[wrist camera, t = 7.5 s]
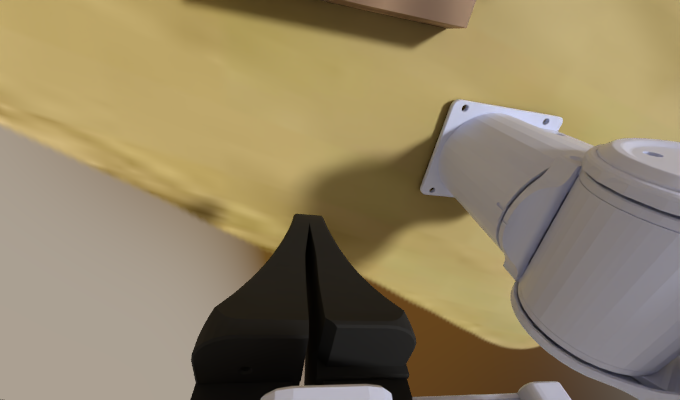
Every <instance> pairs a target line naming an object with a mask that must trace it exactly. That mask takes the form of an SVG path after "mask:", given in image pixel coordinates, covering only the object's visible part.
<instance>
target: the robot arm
mask: <svg viewBox="0 0 680 400" xmlns="http://www.w3.org/2000/svg"><path fill="white" fill-rule="evenodd" d="M464 105H466V108H465V109H464V110H462V107H463V106H464ZM545 119H546V120H545ZM544 120H545V122H544V123H543V121H544ZM562 122H563V119H562V118H561V117H558V116H554V115H548V114H542V113H537V112H531V111H525V110H519V109H514V108H508V107H502V106H496V105H490V104H485V103H479V102H473V101H467V100H462V99H456V100H454V101H453V102H452V104H451V106H450V108H449V111H448V114H447V117H446V119H445V122H444V125H443V127H442V130H441V133H440V135H439V138H438V141H437V144H436V146H435V149H434V152H433V154H432V157H431V160H430V162H429V165H428V168H427V171H426V173H425V176H424V179H423V181H422V184H421V187H420V191H421V192H422V193H423V194H426V195H436V196H445V197H455V198H456V199H457V201H458V202H459V203H460V204H461V205H462V206H463V207H464V208H465V210H466V211H467V212H468V213H469V214H470V215H471V216H472V218H473V219H474V220H475V221H476V222H477V223H478V224H479V225H480V227H481V228H482V229H483V230H484V231H485V232H486V233H487V235H488V236H489V237H490V238H491V239H492V240H493V241H494V242H495V244H496V245H497V246H498V247H499V248H500V249H501V250H502V252H503V253H504V255H505V262H504V265H503V266H504V267H505V269H506V270H507V271H508V272H509V273H510V275H511V276H512V277H513V278H514V279H515V281H516V282H515V283H514V285H513V287H512V290H511V304H512V308H513V310H514V313H515V315H516V317H517V319H518V320H519V322H520V324H521V325H522V326H523V328H524V329H525V330H526V331H527V333H528V334H529V335H530V336H531V337H532V338H533V339H534V340H535V341H536V342H537V343H538V344H539V345H540V346H541V347H542V348H544V349H545V350H546V351H547V352H548V353H550V354H551V355H552V356H554V357H555V358H556V359H558V360H559V361H560V362H562V363H564V364H565V365H567V366H569V367H570V368H572V369H573V370H575V371H577V372H580V373H581V374H583V375H585V376H588V377H590V378H592V379H595V380H598V381H600V382H603V383H606V384H608V385H611V386H613V387H616V388H618V389H620V390H622V391H624V392H626V393H628V394H630V395H632V396H634V397H635V398H637V399H639V400H680V142H674V141H667V140H658V139H646V138H624V139H618V140H614V141H611V142H609V143H606V144H602V145H597V146H593V145H590V144H588V143H585V142H583V141H580V140H578V139H575V138H573V137H570V136H568V135H565V134H563V133H560V132H558V130H559V128H560V126H561V125H562ZM431 188H433V190H431V191H430V189H431ZM415 345H416V338H415V335H414V332H413V329H412V327H411V324H410V322H409V320H408V318H407V316H406V314H405V312H404V310H402V309H401V308H399V307H398V306H396V305H395V304H393V303H392V302H391V301H389V300H388V299H387V298H385V297H384V296H383V295H382V294H380V293H379V292H378V291H377V290H376V289H374V288H373V287H372V286H371V285H370V284H369V283H368V282H367V281H366V280H365V279H364V278H363V277H362V276H361V275H360V274H359V273H358V272H357V271H356V270H355V269H354V267H353V266H352V265H351V264H350V263H349V261H348V260H347V259H346V257H345V256H344V255H343V253H342V252H341V250H340V249H339V247H338V246H337V244H336V242H335V241H334V239H333V237H332V236H331V234H330V232H329V230H328V228H327V226H326V224H325V221H324V219H323V217H322V216H316V215H304V214H295V215H294V217H293V221H292V223H291V226H290V228H289V230H288V232H287V233H286V235H285V237H284V239H283V240H282V242H281V243H280V245H279V246H278V248H277V249H276V251H275V252H274V254H273V255H272V256H271V257H270V259H269V260H268V261H267V262H266V264H265V265H264V266H263V267H262V268H261V269H260V270H259V271H258V272H257V273H256V274H255V275H254V276H253V277H252V278H251V279H250V280H249V281H248V282H247V283H245V284H244V285H243V286H242V287H241V288H240V289H239V290H237V291H236V292H235V293H234V294H233V295H231V296H230V297H229V298H227V299H226V300H224V301H223V302H222V303H220V304H219V305H218V306H216V307H215V308H214V309H213V311H212V313H211V314H210V316H209V317H208V319H207V321H206V323H205V324H204V326H203V328H202V330H201V332H200V334H199V336H198V339H197V342H196V344H195V347H194V350H193V353H192V359H191V362H192V366H193V371H194V376H195V381H196V384H195V387H194V391H193V394H192V397H191V400H571V398H570V397H569V396H568V394H567V393H566V391H565V390H564V389H563V387H562V386H561V384H560V383H559V382H557V381H546V382H530V383H528V384H525V385H524V386H523V387H521V388H520V390H519V391H518V393H509V394H482V395H457V396H456V395H455V396H428V397H412V396H411V392H410V388H409V385H408V381H407V378H408V377H409V372H408V369H407V366H406V363H407V361H408V359H409V358H410V356H411V354H412V352H413V350H414V348H415ZM304 360H305V381H304V386H299V383H300V381H301V376H302V371H303V366H304ZM0 400H3V399H0Z"/></svg>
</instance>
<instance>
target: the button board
mask: <svg viewBox="0 0 680 400" xmlns="http://www.w3.org/2000/svg"><path fill="white" fill-rule="evenodd" d="M321 1H326V2H330V3H335V4H339V5H344V6H348V7H353V8H357V9H362V10H366V11H371V12H375V13H380V14H384V15H389V16H393V17H398V18H403V19H407V20H412V21H416V22H421V23H425V24H430V25H434V26H439V27H443V28H467V25H468V22H469V19H470V16H471V14H472V11H473V8H474V5H475V2H476V0H321Z"/></svg>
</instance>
